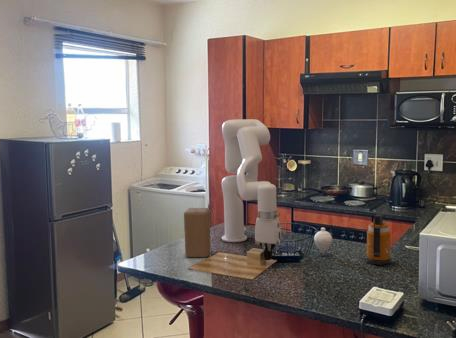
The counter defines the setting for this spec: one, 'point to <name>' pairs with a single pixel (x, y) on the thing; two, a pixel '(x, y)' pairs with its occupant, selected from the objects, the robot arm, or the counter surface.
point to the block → (197, 232)
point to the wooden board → (231, 266)
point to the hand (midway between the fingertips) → (268, 259)
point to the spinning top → (323, 240)
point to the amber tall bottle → (378, 241)
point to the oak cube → (255, 257)
